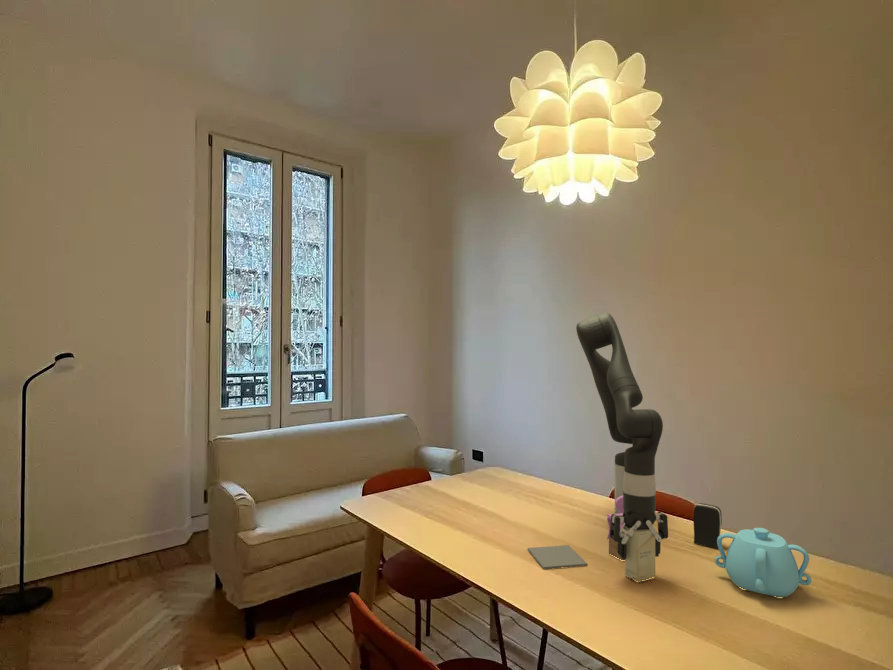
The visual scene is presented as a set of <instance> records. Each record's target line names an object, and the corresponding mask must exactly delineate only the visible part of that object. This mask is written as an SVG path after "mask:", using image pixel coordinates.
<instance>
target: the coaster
mask: <svg viewBox="0 0 893 670" xmlns="http://www.w3.org/2000/svg"><path fill="white" fill-rule="evenodd" d="M527 552H528V553H529V554H530V555H531V556H532V557H533V559H534V560H535V561H536V563H538V565H539V566H540V567H541V568H542V569H543V570H552V568H555V569H562V568H561V567H568V568H571V567H570V566H581V567H584V566H583V565H588V562H587V561H586V560H585V559H583V557H581V555H580V554H578V553H577V551H575V550H574V549H573V548H572V547H571V546H570V545H569V544H566V545H550V546H549V545H548V546H536V547H527ZM588 566H589V565H588Z"/></svg>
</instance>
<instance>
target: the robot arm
mask: <svg viewBox="0 0 893 670" xmlns="http://www.w3.org/2000/svg"><path fill="white" fill-rule="evenodd" d="M575 328H576V336H577V338H578V340H579V342H580V345H581V348H582V350H583V352H584V355H585V357H586V360H587V362H588V364H589V367H590V370H591V373H592V377H593V380H594V383H595V386H596V391H597V393H598V396H599V398H600V401H601V403H602V407H603V409H604V413H605V416H606V422H607V426H608V430H609V435H610V437H611V438H612V440H613V441H614V442H616V443H622V444H627V445H632V446H631V447H627V448H626V449H625V450H624V451H623V452H619V453H616V454H615V456H614V501H615V500H616V499H617V498H618V497H620V496H622V495H623V508H624V513H623V515H622V516H620V515H615V514H620V513H622V512H621V511H619V510H618V509H617V508H616V506H615V505H614V513H611V514H612V515H611V524H610V538H612V539H613V540H614V541H615V542H618V555H620V557H621V558H622V559H626V558H627V544H626V542H627V540H628V539H629V537H632V535H633V534H634V531H636V530H651V532H652V534H653V535H654V537H655V558H657V557H659V555H660V554H661V542H662V540H664V539H665V540H667V539H668V538H669V526H668V515H667V514H665V513H664V512H662V511H658V512H657V513H656V510H657V507H656V506H657V505H656V501H657V499H656V498H657V496H656V495H657V494H656V493H657V489H656V488H657V486H656V485H657V481H656V474H655V473H656V472H655V470H656V469H655V467H656V465H655V464H656V454H657V451H658V448H659V445H660V440H661V439H662V438H661V437H662V434H663V428H664V426H663V425H664V424H663V419H662V417H661V415H660V414H659V412H658V411H657V410H654V409H651V408H650V409H647V408H646V409H644V408H643V409H642V408H641V409H640V408H639V409H633V408H636V407H638V406H639V405H640V404H641V403H642V402H643V393H642V390H641V388H640V386H639V384H638V382H637V380H636V378H635V375H634V373H633V370H632V368H631V365H630V361H629V358H628V354H627V352H626V348H625V345H624V341H623V339H622V336H621V333H620V330H619V327H618V325H617V322H616V321H615V319H614V317H613V316H612V314H610V313H609V312H604V313H600V314H596V315H594V316H592V317H589V318H585V319H583V320H581V321H579V322H577V324H576V326H575ZM610 345H611V347H612V352H611V358H610V360H609V359H607V358H606V357H604V356H602V355H601V354H600V353H599V351H597V350H598V349H602V348H606V347H608V346H610ZM622 521H624V525H623V526H622V528H621V531H620V525H621V524H622ZM655 522H657V529H656V528H655V526H654V524H655ZM625 527H628V528H629V530H628V531H626V530H625Z"/></svg>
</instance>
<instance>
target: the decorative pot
mask: <svg viewBox="0 0 893 670" xmlns="http://www.w3.org/2000/svg"><path fill="white" fill-rule="evenodd" d="M727 538H729V539H732V541H731V542H730V544H729V546H728V549H727V552H726V553H725V550H724V546H723V542H722V541H723V539H727ZM717 545H718V548H719V549H718V551H719V553H720V555H716V557H715V558H714V563H715V565H716V566H718V567H720V568H721V569H724V568H725V571H726V573H727V574H728V577H729V578H730V580H731V581H732V582H733V583H734V584H735V585H736V586H738V588H739V587H741V588H743V589H746V590H750V591H749V592H755V593H757V594H763V595H767V596H772V597H773V596H776V597H784V598H785V597H789V596H791V595H792V594H793V593H794V592H795V591H796V589H797V588H798V587H799V585H802V586H809V585H811V583H812V577H811V576H810V574H808V573H805V571H806V569H807V567H808V565H809V562H810V555H809V553H808V552H807V551H806V549H804V548H803V547H801V546H800V545H797V544H788V542H787V541H786V539H784V537H782V536H781V535H779V534H776V533H772V532H770V530H769V529H766V528H763V527H754V528H753V529H747V528H745V529H741V530H739V531H738V532H737V533H736V534H734V533H730V532H724V533H720V535H719V537H718V538H717ZM792 550H793V551H797V552H799V553H801V554H802V555H803V561H802V563H801V565H800V567H798V564H797V561H796V559H795V556H794V554H793V552H792ZM719 560H722V562H720V561H719ZM803 577H805V578H806V579H805V580H804V579H803Z"/></svg>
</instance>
